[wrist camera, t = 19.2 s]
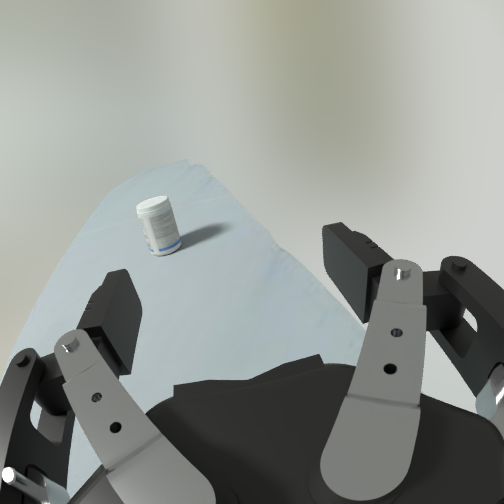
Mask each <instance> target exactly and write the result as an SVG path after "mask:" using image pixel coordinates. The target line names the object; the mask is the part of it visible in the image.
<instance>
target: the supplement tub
mask: <svg viewBox="0 0 504 504" xmlns="http://www.w3.org/2000/svg"><path fill="white" fill-rule="evenodd" d="M136 208H137V213H138V216H139V220H140V223H141V226H142V229H143V232H144V235H145V237H146V240H147V243H148V246H149V249H150V252H151V253H152V254H153V255H156V256H163V255H167V254H170V253H172V252H174V251H176V250H177V249H178V248H179V247H180V246H181V239H180V235H179V232H178V228H177V225H176V222H175V218H174V215H173V211H172V208H171V204H170V201H169V199H168V197H167V196H158V197H154V198H150V199H148V200H145V201H143V202H141V203H140V204H138V205H137V207H136Z"/></svg>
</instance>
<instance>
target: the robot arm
mask: <svg viewBox="0 0 504 504" xmlns="http://www.w3.org/2000/svg"><path fill="white" fill-rule="evenodd" d="M322 236H323V258H324V266H325V269H326V272H327V274H328V275H329V277H330V278H331V280H332V281H333V282H334V284H335V285H336V286H337V288H338V289H339V291H340V292H341V293H342V295H343V296H344V298H345V299H346V300H347V302H348V303H349V304H350V306H351V307H352V309H353V310H354V312H355V313H356V315H357V316H358V317H359V319H360V320H361V322H362V323H363V324H364V323H367V322H369V324H368V328H367V331H366V335H365V339H364V342H363V346H362V349H361V353H360V356H359V359H358V363H357V366H351V365H346V364H334V363H328V364H324V363H323V361H322V359H321V357H320V355H319V354H317V355H314V356H310V357H307V358H303V359H299V360H296V361H292V362H288V363H284V364H282V365H280V366H278V367H276V368H274V369H271V370H269V371H267V372H265V373H263V374H261V375H258V376H256V377H254V378H252V379H249V380H205V381H199V382H193V383H186V384H179V385H174V395H173V397H170V398H168V399H166V400H164V401H162V402H160V403H159V404H157V405H155V406H154V407H153V408H151V409H150V410H149V411H148V412H147V413H146V414H145V413H144V412H143V411H142V410H141V409H140V407H139V406H138V405H137V404H136V402H135V401H134V400H133V399H132V397H131V396H130V395H129V394H128V392H127V391H126V390H125V388H124V387H123V386H122V384H121V383H120V382H119V376H120V375H129V374H131V370H132V364H133V358H134V353H135V348H136V342H137V337H138V332H139V327H140V322H141V318H142V306H141V302H140V299H139V297H138V295H137V292H136V290H135V287H134V285H133V283H132V280H131V278H130V275H129V273H128V271H127V270H126V269H121V270H117V271H113V272H108V273H107V275H106V277H105V279H104V282H103V284H102V286H100V287H99V288H98V289H97V290H96V291H95V292H94V293H93V294H92V295H91V298H90V300H89V302H88V304H87V306H86V308H85V311H84V313H83V315H82V317H81V319H80V322H79V324H78V326H77V328H76V330H72V331H70V332H68V333H66V334H64V335H63V336H62V337H61V338H60V339H59V340H58V341H57V343H56V345H55V347H54V353H51V354H49V355H46V356H44V357H41V358H40V356H39V355H38V354H37V352H36V351H35V350H34V349H33V348H27V349H24V350H22V351H20V352H19V353H17V354H16V355H15V356H14V358H13V359H12V360H11V362H10V364H9V367H8V369H7V371H6V374H5V376H4V378H3V381H2V383H1V386H0V504H504V290H503V289H502V288H501V287H500V286H499V285H498V284H497V283H496V282H494V281H493V280H492V279H491V278H490V277H489V276H488V275H486V274H485V273H484V272H483V271H482V270H481V269H479V268H478V267H477V266H476V265H474V264H473V263H472V262H471V261H469V260H468V259H465V258H463V257H459V256H449V257H446V258H444V259H443V260H442V262H441V267H440V271H427V272H422V269H421V268H420V266H418V265H417V264H416V263H414V262H412V261H408V260H402V259H399V260H394V259H393V258H391V257H390V256H389V255H388V254H387V253H386V252H385V251H384V250H382V249H381V248H380V247H378V245H377V244H376V243H374V242H372V240H371V239H370V238H368V237H367V236H366V235H364V234H362V233H359V232H356V231H353V232H352V231H351V230H350V229H349V228H348V227H347V226H345V225H344V224H343V223H342V222H339V223H335V224H330V225H325V226H323V229H322ZM466 308H467V310H468V311H469V312H470V313H471V314H472V315H473V316H474V317H475V319H476V321H477V333H476V331H475V330H474V329H473V328H472V327H471V326H470V325H469V323H468V322H467V321H466V320H465V319H464V318H463V315H464V311H465V309H466ZM426 331H429V332H430V333H431V334H432V336H433V337H434V338H435V340H436V341H437V343H438V344H439V345H440V347H441V348H442V349H443V351H444V352H445V354H446V355H447V356H448V358H449V359H450V360H451V362H452V363H453V365H454V366H455V367H456V369H457V370H458V372H459V373H460V374H461V376H462V378H463V379H464V381H465V382H466V384H467V385H468V387H469V388H470V390H471V391H472V393H473V394H474V396H475V397H476V410H477V413H478V414H475V413H472V412H469V411H467V410H464V409H461V408H458V407H455V406H453V405H450V404H448V403H445V402H442V401H440V400H437V399H435V398H432V397H429V396H427V395H424V394H422V393H421V385H422V376H423V367H424V356H425V341H426V340H425V339H426ZM34 400H35V401H36V402H37V404H38V405H39V406H40V407H41V408H42V411H41V415H40V419H39V423H38V428H37V429H35V428H34V426H33V425H32V423H31V420H30V412H31V409H32V405H33V402H34ZM75 415H76V417H77V419H78V421H79V423H80V425H81V427H82V429H83V431H84V433H85V435H86V436H87V438H88V440H89V442H90V444H91V445H92V447H93V449H94V451H95V452H96V454H97V456H98V457H99V459H100V461H101V462H102V464H101V465H100V467H99V468H98V469H97V470H96V471H95V472H94V473H93V475H92V476H91V477H90V478H89V479H88V480H87V481H86V483H85V484H84V485H83V486H82V487H81V488H80V489H79V491H78V492H77V493H76V494H75V495H74V496H73V497H72V498H71V499H70V497H69V494H68V492H67V491H66V489H67V475H68V465H69V455H70V447H71V440H72V433H73V427H74V421H75Z"/></svg>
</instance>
